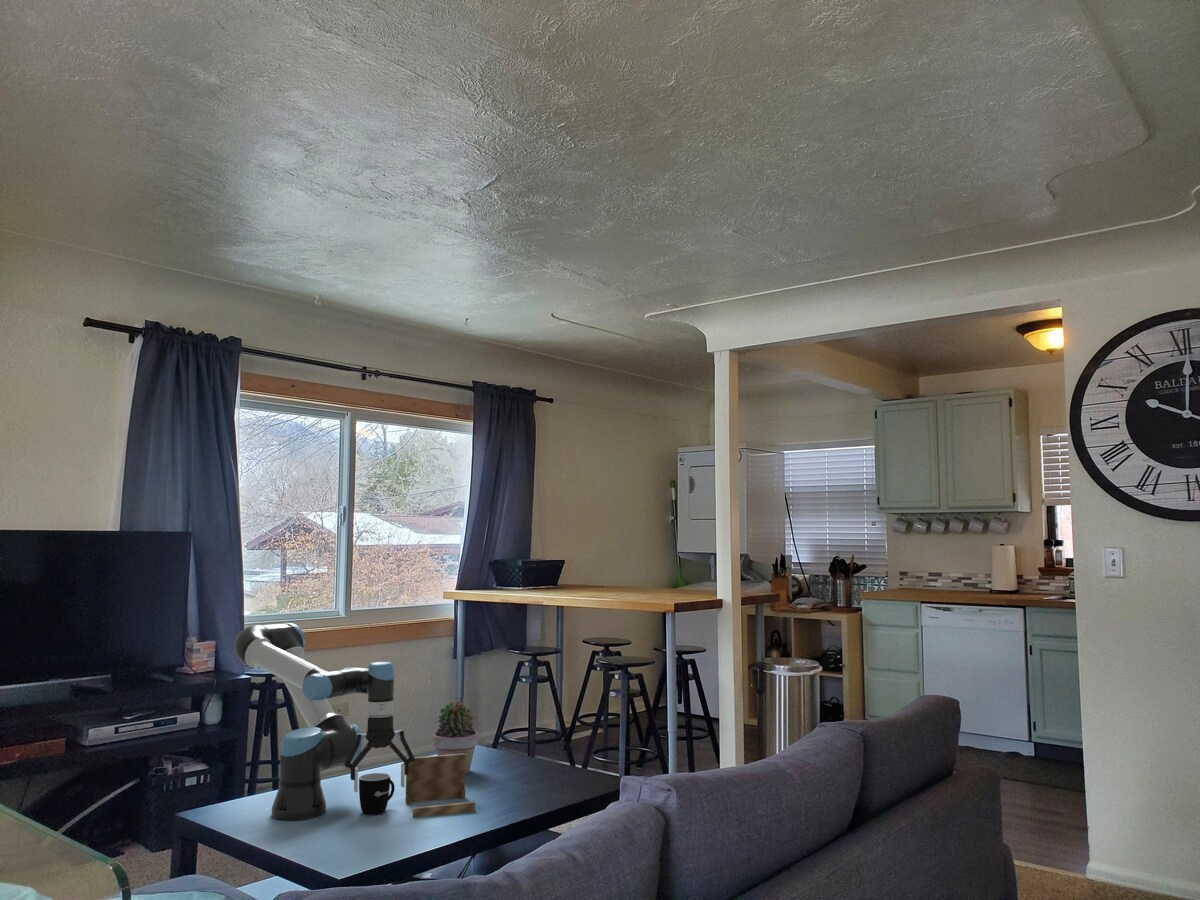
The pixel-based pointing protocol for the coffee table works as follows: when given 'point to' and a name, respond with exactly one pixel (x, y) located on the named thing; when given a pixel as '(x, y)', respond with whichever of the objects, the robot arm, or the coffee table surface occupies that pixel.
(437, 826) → the coffee table surface
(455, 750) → the potted plant
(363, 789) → the mug
